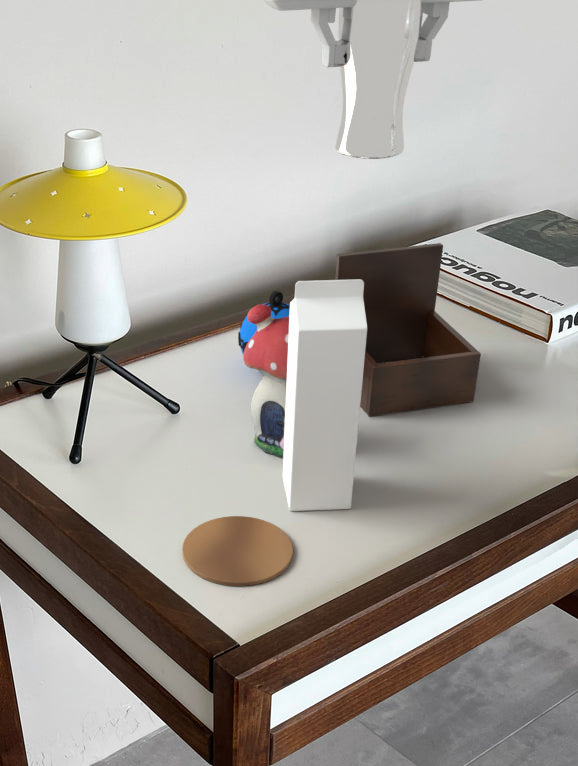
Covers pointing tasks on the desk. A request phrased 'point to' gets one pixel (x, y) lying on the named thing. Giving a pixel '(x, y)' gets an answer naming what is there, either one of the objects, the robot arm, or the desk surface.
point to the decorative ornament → (268, 377)
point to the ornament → (277, 312)
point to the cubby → (408, 332)
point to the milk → (323, 393)
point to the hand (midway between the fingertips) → (376, 63)
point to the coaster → (237, 551)
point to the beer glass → (376, 74)
